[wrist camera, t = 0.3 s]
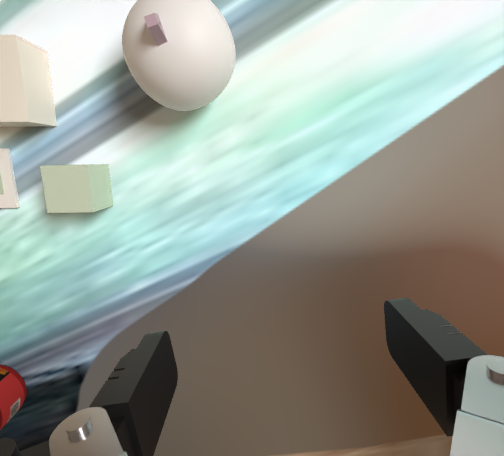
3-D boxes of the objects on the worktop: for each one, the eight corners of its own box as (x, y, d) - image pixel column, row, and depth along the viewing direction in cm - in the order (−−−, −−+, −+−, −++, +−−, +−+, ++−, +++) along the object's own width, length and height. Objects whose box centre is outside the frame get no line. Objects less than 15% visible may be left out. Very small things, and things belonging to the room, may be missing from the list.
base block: (-23, 52, 35) (-67, 35, 31) (48, 51, 35) (15, 34, 31) (-11, 126, 37) (-50, 121, 32) (58, 126, 37) (28, 121, 32)
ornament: (126, 62, 35) (64, 15, 24) (193, -5, 34) (161, -92, 22) (189, 134, 37) (159, 123, 25) (255, 72, 36) (256, 30, 24)
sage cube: (67, 164, 38) (40, 165, 33) (108, 164, 38) (87, 165, 33) (73, 206, 39) (47, 212, 34) (113, 205, 39) (93, 212, 34)
